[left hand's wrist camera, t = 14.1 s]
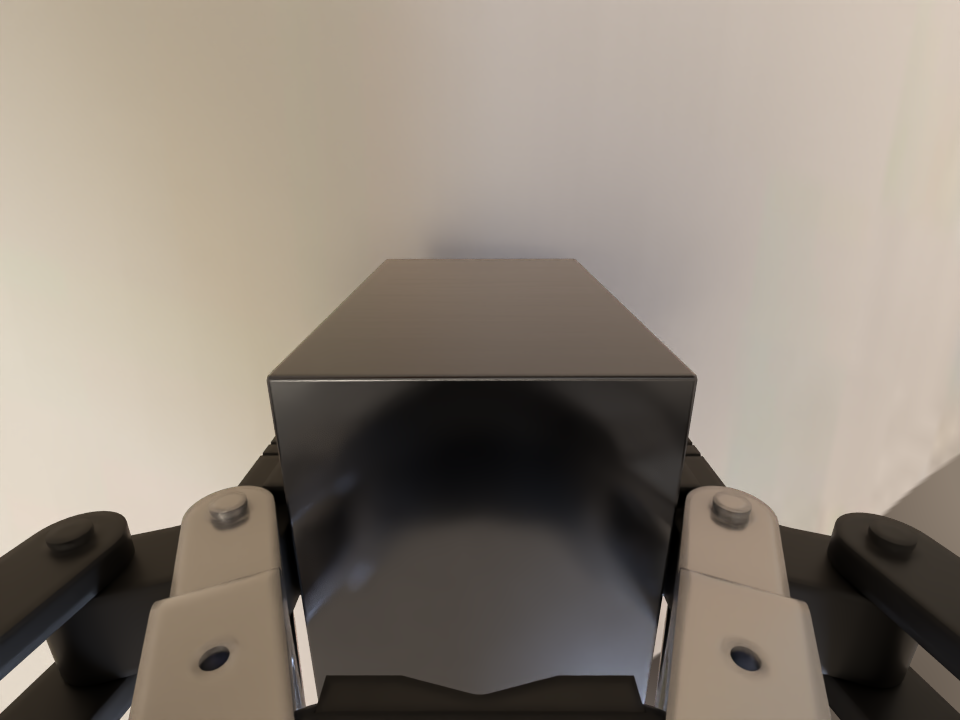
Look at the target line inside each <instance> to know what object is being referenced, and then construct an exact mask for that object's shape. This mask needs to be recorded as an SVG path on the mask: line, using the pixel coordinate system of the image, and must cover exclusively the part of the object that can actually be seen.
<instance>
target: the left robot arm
mask: <svg viewBox="0 0 960 720" xmlns="http://www.w3.org/2000/svg"><path fill="white" fill-rule="evenodd" d="M299 595H301V590H300V584H299V578H298V572H297V565H296V559H295V553H294V547H293V541H292V534H291V528H290V522H289V516H288V510H287V503H286V497H285V491H284V485H283V479H282V472H281V466H280V460H279V454H278V447H277V441H276V436H275V437H274V439H273V440H272V441H271V445H268V447H267V448H266V449H265V451H264V452H263V456H260V457H259V459H258V460H257V461H256V463H255V464H254V465H253V467H252V468H251V469H250V471H249V472H248V473H247V475H246V476H245V477H244V479H243V480H242V481H241V483H240V484H239V485H238V486H237V487H231V488H227V489H223V490H220V491H217V492H214V493H212V494H210V495H208V496H206V497H204V498H202V499H201V500H199V501H198V502H196V503H195V504H194V505H192V506H191V507H190V508H189V509H188V510H187V512H186V513H185V515H184V516H183V519H182V523H181V525H180V526H175V527H171V528H166V529H161V530H156V531H151V532H146V533H141V534H136V535H131V534H130V531H129V528H128V524H127V521H126V519H125V517H123V516H122V515H121V514H119V513H116V512H111V511H96V512H89V513H84V514H80V515H76V516H73V517H69V518H67V519H64V520H61V521H59V522H56V523H54V524H52V525H50V526H48V527H46V528H44V529H42V530H41V531H39V532H37V533H36V534H34V535H33V536H31V537H30V538H28V539H27V540H25V541H24V542H22V543H21V544H20V545H18V546H17V547H15V548H14V549H12V550H11V551H9V552H8V553H6V554H5V555H3V556H2V557H0V680H1V679H3V678H4V677H5V676H6V675H7V674H8V673H9V672H10V671H12V670H13V669H14V668H15V667H16V666H17V665H18V664H19V663H21V662H22V661H23V660H24V659H25V658H26V657H27V656H28V655H29V654H31V653H32V652H33V651H34V650H35V649H36V648H37V647H38V646H40V645H41V644H42V643H43V642H44V641H45V640H47V643H48V645H49V648H50V650H51V653H52V655H53V658H54V660H55V662H54V663H53V664H52V665H51V666H50V667H49V668H48V669H47V670H46V671H45V672H44V673H43V674H42V675H41V676H40V677H39V678H37V679H36V680H35V681H34V682H33V683H32V684H31V685H30V686H29V687H28V688H27V689H26V690H25V691H24V692H23V693H22V694H21V695H20V696H19V697H17V698H16V699H15V700H14V701H13V702H12V703H11V704H10V705H9V706H8V707H7V708H6V709H5V710H4V711H3V712H2V713H1V714H0V720H120V719H121V717H122V716H123V715H124V714H125V712H126V711H127V710H128V709H129V708H130V706H131V709H130V714H129V719H128V720H832V719H831V714H830V709H829V706H830V708H831V709H832V710H833V711H834V712H835V714H836V715H837V716H838V717H839V718H840V720H960V714H959V713H958V712H957V711H956V710H955V709H954V708H953V707H952V706H951V705H950V704H949V703H948V702H947V701H946V700H945V699H944V698H943V697H941V696H940V695H939V694H938V693H937V692H936V691H935V690H934V689H933V688H932V687H931V686H930V685H929V684H928V683H927V682H926V681H925V680H924V679H923V678H922V677H920V676H919V675H918V674H917V673H916V672H915V671H914V670H913V669H912V668H911V667H910V666H909V665H910V663H911V660H912V658H913V655H914V653H915V651H916V648H917V646H918V644H919V645H921V646H922V647H923V648H924V649H925V650H926V651H927V652H928V653H930V654H931V655H932V656H933V657H934V658H935V659H936V660H937V661H938V662H940V663H941V664H942V665H943V666H944V667H945V668H946V669H947V670H948V671H950V672H951V673H952V674H953V675H954V676H955V677H956V678H957V679H959V680H960V557H958V556H957V555H955V554H954V553H952V552H951V551H949V550H948V549H946V548H945V547H943V546H942V545H941V544H939V543H938V542H936V541H935V540H933V539H932V538H930V537H929V536H927V535H925V534H924V533H922V532H921V531H919V530H917V529H915V528H913V527H911V526H909V525H907V524H905V523H902V522H900V521H897V520H894V519H891V518H888V517H884V516H880V515H876V514H870V513H849V514H845V515H842V516H840V517H839V518H838V519H837V521H836V522H835V526H834V529H833V532H832V536H828V535H823V534H818V533H813V532H808V531H803V530H798V529H793V528H789V527H785V526H781V525H779V523H778V519H777V516H776V515H775V513H774V512H773V510H772V509H771V508H770V507H769V506H768V505H766V504H765V503H764V502H762V501H761V500H759V499H758V498H756V497H754V496H752V495H750V494H748V493H746V492H743V491H740V490H737V489H733V488H729V487H726V486H725V485H724V484H723V482H722V481H721V480H720V478H719V477H718V476H717V474H716V473H715V472H714V471H713V469H712V468H711V467H710V465H709V464H708V463H707V461H706V460H705V459H704V457H703V456H701V455H700V452H699V451H698V450H697V448H696V447H695V446H694V445H692V442H691V440H690V439H689V438H688V441H687V447H686V453H685V459H684V466H683V472H682V478H681V484H680V490H679V497H678V503H677V509H676V515H675V522H674V528H673V534H672V540H671V546H670V553H669V559H668V565H667V571H666V578H665V584H664V590H663V596H664V597H665V599H666V601H667V604H668V606H667V612H666V618H665V624H664V632H663V640H662V648H661V656H660V665H659V673H658V681H657V689H656V697H655V705H654V707H653V706H650V705H646V704H643V703H642V701H641V697H640V694H639V691H638V687H637V684H636V681H635V677H634V675H558V676H554V677H550V678H546V679H542V680H538V681H535V682H531V683H527V684H523V685H519V686H515V687H511V688H508V689H504V690H500V691H496V692H492V693H488V694H472V693H468V692H464V691H460V690H456V689H452V688H449V687H445V686H441V685H437V684H433V683H429V682H425V681H422V680H418V679H414V678H410V677H406V676H402V675H326V677H325V681H324V684H323V687H322V691H321V694H320V697H319V701H318V703H317V704H314V705H310V706H307V707H306V705H305V697H304V689H303V681H302V673H301V664H300V656H299V648H298V640H297V632H296V624H295V618H294V612H293V610H294V607H295V605H296V603H297V600H298V598H299Z"/></svg>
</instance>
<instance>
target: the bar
mask: <svg viewBox="0 0 960 720" xmlns="http://www.w3.org/2000/svg"><path fill="white" fill-rule="evenodd" d="M267 385H268V392H269V398H270V404H271V410H272V416H273V423H274V429H275V435H276V441H277V447H278V454H279V460H280V466H281V472H282V479H283V485H284V491H285V497H286V503H287V510H288V516H289V522H290V528H291V534H292V541H293V547H294V553H295V559H296V565H297V572H298V578H299V584H300V590H301V596H302V603H303V609H304V615H305V621H306V628H307V634H308V640H309V646H310V652H311V659H312V665H313V671H314V677H315V683H316V690H317V696H318V701H319V697H320V694H321V691H322V687H323V684H324V681H325V677H326V675H402V676H406V677H410V678H414V679H418V680H422V681H425V682H429V683H433V684H437V685H441V686H445V687H449V688H452V689H456V690H460V691H464V692H468V693H472V694H488V693H492V692H496V691H500V690H504V689H508V688H511V687H515V686H519V685H523V684H527V683H531V682H535V681H538V680H542V679H546V678H550V677H554V676H558V675H634V677H635V681H636V684H637V687H638V691H639V694H640V697H641V701H642V703H643V704H645V702H646V696H647V689H648V683H649V677H650V671H651V665H652V658H653V652H654V646H655V640H656V634H657V627H658V621H659V615H660V609H661V602H662V596H663V590H664V584H665V578H666V571H667V565H668V559H669V553H670V546H671V540H672V534H673V528H674V522H675V515H676V509H677V503H678V497H679V490H680V484H681V478H682V472H683V466H684V459H685V453H686V447H687V441H688V434H689V428H690V422H691V416H692V410H693V403H694V397H695V391H696V385H697V376H696V375H695V374H694V373H693V372H692V371H691V370H690V369H689V368H688V367H687V366H686V365H685V364H684V363H683V362H682V361H681V360H680V359H679V358H678V357H677V356H676V355H675V354H674V353H673V352H671V351H670V350H669V349H668V348H667V347H666V346H665V345H664V344H663V343H662V342H661V341H660V340H659V339H658V338H657V337H656V336H655V335H654V334H653V333H652V332H651V331H650V330H649V329H647V328H646V327H645V326H644V325H643V324H642V323H641V322H640V321H639V320H638V319H637V318H636V317H635V316H634V315H633V314H632V313H631V312H630V311H629V310H628V309H627V308H626V307H625V306H623V305H622V304H621V303H620V302H619V301H618V300H617V299H616V298H615V297H614V296H613V295H612V294H611V293H610V292H609V291H608V290H607V289H606V288H605V287H604V286H603V285H602V284H601V283H599V282H598V281H597V280H596V279H595V278H594V277H593V276H592V275H591V274H590V273H589V272H588V271H587V270H586V269H585V268H584V267H583V266H582V265H581V264H580V263H579V262H578V261H577V260H575V259H387V260H385V261H384V262H383V263H382V264H381V265H380V266H379V267H378V268H377V269H376V270H375V271H374V272H373V273H372V274H371V275H370V276H369V277H368V278H367V279H366V280H365V281H364V282H363V283H362V284H361V285H360V286H359V287H358V288H357V289H356V290H355V291H354V292H353V293H352V294H351V295H350V296H349V297H348V298H347V299H346V300H345V301H344V302H343V303H342V304H340V305H339V306H338V307H337V308H336V309H335V310H334V311H333V312H332V313H331V314H330V315H329V316H328V317H327V318H326V319H325V320H324V321H323V322H322V323H321V324H320V325H319V326H318V327H317V328H316V329H315V330H314V331H313V332H312V333H311V334H310V335H309V336H308V337H307V338H306V339H305V340H304V341H303V342H302V343H301V344H300V345H299V346H298V347H297V348H296V349H295V350H294V351H293V352H292V353H291V354H290V355H288V356H287V357H286V358H285V359H284V360H283V361H282V362H281V363H280V364H279V365H278V366H277V367H276V368H275V369H274V370H273V371H272V372H271V373H270V374H269V375H268V377H267Z"/></svg>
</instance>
